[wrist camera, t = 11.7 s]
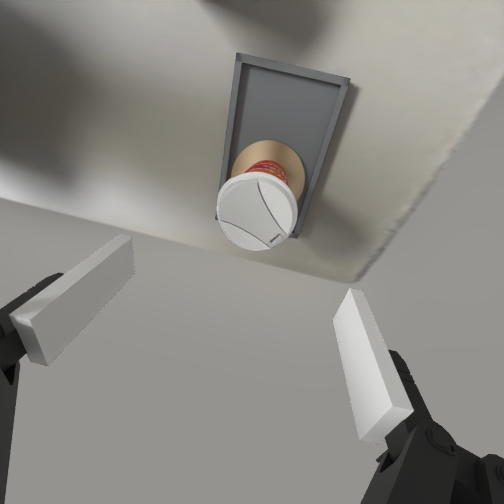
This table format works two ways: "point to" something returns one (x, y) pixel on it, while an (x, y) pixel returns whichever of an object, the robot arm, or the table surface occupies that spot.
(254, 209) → the coffee cup
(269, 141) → the pad
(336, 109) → the tray
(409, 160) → the table surface
